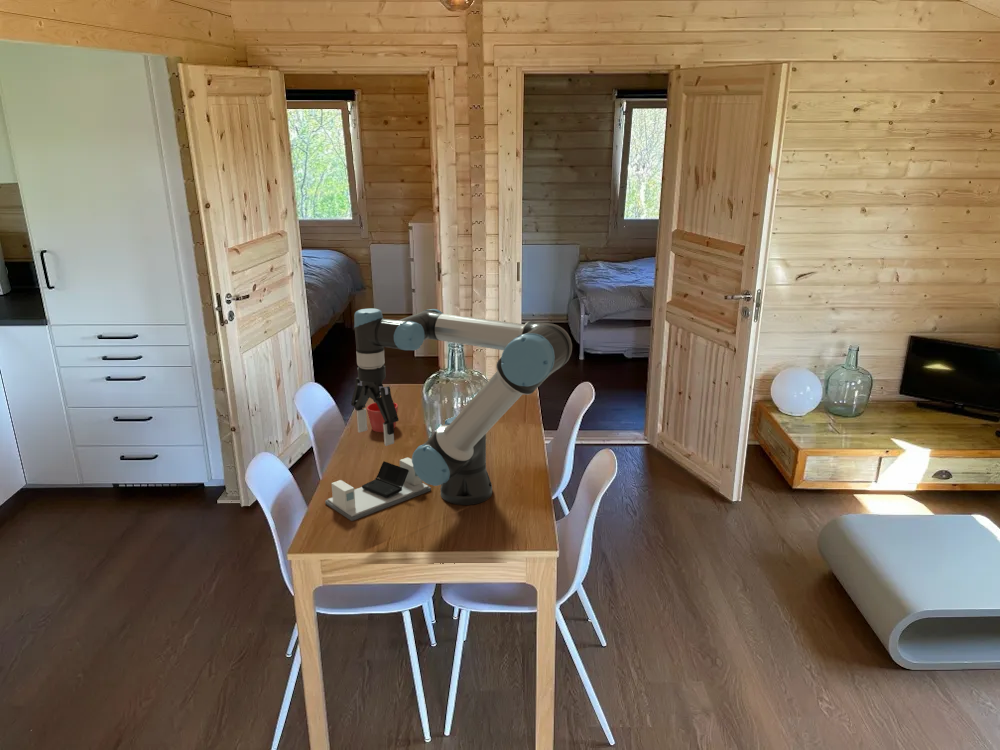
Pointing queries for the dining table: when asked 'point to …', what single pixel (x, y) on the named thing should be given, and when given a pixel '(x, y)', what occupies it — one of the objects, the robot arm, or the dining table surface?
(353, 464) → the dining table surface
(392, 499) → the board
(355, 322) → the robot arm
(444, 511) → the dining table surface
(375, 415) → the flower pot
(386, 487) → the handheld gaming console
